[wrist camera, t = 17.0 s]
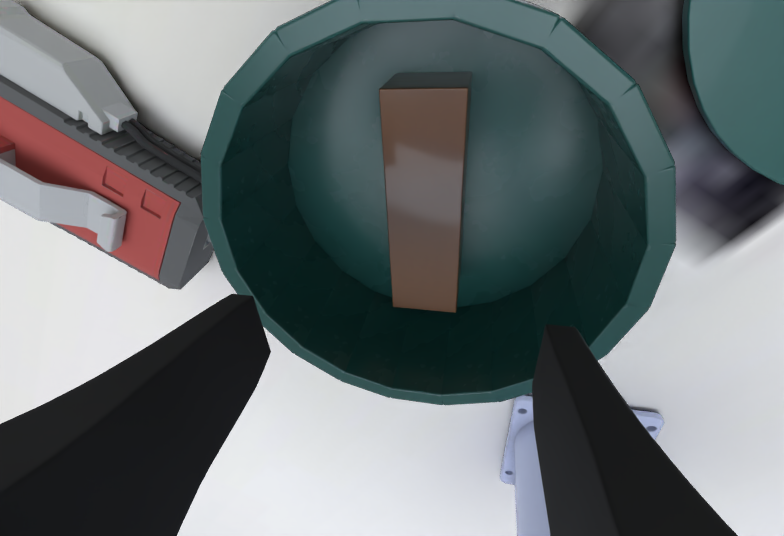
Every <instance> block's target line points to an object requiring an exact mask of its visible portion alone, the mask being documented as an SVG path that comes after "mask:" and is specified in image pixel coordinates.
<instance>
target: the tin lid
mask: <svg viewBox="0 0 784 536" xmlns="http://www.w3.org/2000/svg"><path fill="white" fill-rule="evenodd" d="M682 27H683V54H684V60H685V66H686V72H687V78H688V82H689V85H690V88H691V91H692V93H693V96H694V99H695V102H696V105H697V108H698V109H699V111H700V113H701V115H702V116H703V118H704V120H705V122H706V123H707V125H708V127H709V128H710V130H711V132H712V133H713V134H714V135H715V136H716V137H717V138H718V140H719V141H720V142H721V143H722V144H723V145H724V147H725V148H726V149H727V150H728V151H729V152H731V153H732V154H733V155H734V156H736V157H737V158H738V159H739V160H741V161H742V162H743V163H744V164H746V165H747V166H748V167H750V168H751V169H753V170H754V171H756V172H758V173H760V174H761V175H763V176H765V177H767V178H769V179H771V180H773V181H774V182H776V183H778V184H781V185H784V0H684V5H683V13H682Z"/></svg>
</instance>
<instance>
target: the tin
mask: <svg viewBox="0 0 784 536" xmlns="http://www.w3.org/2000/svg"><path fill="white" fill-rule="evenodd" d="M434 72H472V84H471V102H470V119H469V136H468V153H467V171H466V188H465V205H464V222H463V240H462V257H461V274H460V284H459V293H458V302H457V311H456V313H453V312H443V311H432V310H422V309H411V308H400V307H393V302H392V286H391V271H390V255H389V240H388V224H387V209H386V193H385V178H384V163H383V147H382V132H381V116H380V101H379V89H380V88H381V87H382V86H383V85H384V84H385V83H386V82H387V81H388V80H389V79H391V78H392V77H393V76H394V75H395V74H396V73H434ZM674 165H675V162H674V160H673V157H672V155H671V153H670V151H669V149H668V147H667V144H666V142H665V140H664V138H663V136H662V134H661V132H660V129H659V127H658V125H657V123H656V121H655V119H654V116H653V114H652V112H651V110H650V108H649V106H648V103H647V101H646V99H645V97H644V95H643V93H642V91H641V88H640V86H639V85H638V84H637V83H636V82H635V80H634V79H633V78H632V77H631V76H630V75H629V74H627V73H626V72H625V71H624V70H623V69H622V68H621V67H620V66H618V65H617V64H616V63H615V62H614V61H613V60H612V59H610V58H609V57H608V56H607V55H606V54H605V53H604V52H602V51H601V50H600V49H599V48H598V47H597V46H596V45H594V44H593V43H592V42H591V41H590V40H589V39H588V38H586V37H585V36H584V35H583V34H582V33H581V32H580V31H579V30H577V29H576V28H575V27H574V26H573V25H572V24H571V23H569V22H568V21H567V20H566V19H565V18H563V17H561V16H559V15H558V14H556V13H554V12H552V11H550V10H547V9H545V8H543V7H541V6H538V5H536V4H533V3H530V2H527V1H524V0H331V1H329V2H327V3H325V4H323V5H321V6H319V7H317V8H315V9H313V10H311V11H308V12H306V13H304V14H302V15H300V16H298V17H296V18H294V19H292V20H290V21H288V22H286V23H284V24H282V25H280V26H278V27H277V28H276V29H275V30H273V31H272V32H271V33H270V34H269V35H268V36H267V37H266V39H265V40H264V41H263V42H262V43H261V44H260V46H259V47H258V48H257V49H256V50H255V51H254V53H253V54H252V55H251V56H250V57H249V58H248V60H247V61H246V62H245V63H244V64H243V65H242V66H241V68H240V69H239V70H238V71H237V72H236V73H235V75H234V76H233V77H232V78H231V79H230V80H229V82H228V83H227V84H226V85H225V86H224V89H223V90H222V91H221V93H220V96H219V99H218V102H217V105H216V109H215V112H214V115H213V118H212V121H211V124H210V127H209V130H208V133H207V136H206V139H205V142H204V145H203V148H202V151H201V183H202V210H203V220H204V223H205V226H206V229H207V232H208V234H209V237H210V240H211V243H212V246H213V248H214V251H215V254H216V257H217V259H218V262H219V265H220V268H221V271H222V272H223V274H224V275H225V277H226V278H227V280H228V281H229V283H230V284H231V286H232V287H233V288H234V290H235V291H236V293H237V294H238V295H248V296H253V297H254V300H255V303H256V307H257V310H258V313H259V316H260V319H261V322H262V326H263V327H265V328H266V329H267V330H268V331H269V332H270V333H271V334H272V335H273V336H274V337H276V338H277V339H278V340H279V341H280V342H281V343H282V344H283V345H284V346H286V347H287V348H288V349H289V350H290V351H291V352H292V353H295V355H297V356H299V357H300V358H302V359H304V360H306V361H307V362H309V363H311V364H312V365H314V366H316V367H318V368H319V369H321V370H323V371H324V372H326V373H328V374H330V375H331V376H333V377H335V378H336V379H338V380H341V381H342V382H345V383H348V384H351V385H354V386H357V387H360V388H362V389H365V390H368V391H371V392H374V393H377V394H380V395H383V396H386V397H389V398H390V397H391V398H395V399H402V400H409V401H416V402H424V403H431V404H438V405H443V404H444V405H456V404H473V403H489V402H501V401H505V400H508V399H512V398H515V397H519V396H522V395H526V394H529V393H532V382H533V378H534V374H535V369H536V365H537V360H538V356H539V352H540V347H541V343H542V338H543V334H544V330H545V325H546V324H549V325H560V326H570V327H575V328H576V329H577V330H578V331H579V333H580V334H581V336H582V337H583V339H584V341H585V342H586V344H587V345H588V347H589V349H590V350H591V352H592V353H593V355H594V356H595V358H596V359H597V361H598V360H599V359H601V358H603V357H605V355H607V354H608V353H609V352H610V351H611V350H612V349H613V348H614V347H615V345H616V344H617V343H618V342H619V341H620V340H621V339H622V338H623V337H624V336H625V335H626V334H627V332H628V331H629V330H630V329H631V328H632V327H633V326H634V325H635V324H636V323H637V322H638V320H639V319H640V318H641V317H642V316H643V315H644V314H645V313H646V312H647V311H648V310H649V308H650V306H651V304H652V301H653V299H654V297H655V294H656V292H657V289H658V287H659V285H660V282H661V280H662V277H663V275H664V273H665V270H666V268H667V265H668V263H669V261H670V258H671V256H672V253H673V251H674V248H675V246H676V243H675V242H676V168H675V166H674Z"/></svg>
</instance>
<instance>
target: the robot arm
mask: <svg viewBox="0 0 784 536" xmlns="http://www.w3.org/2000/svg"><path fill="white" fill-rule="evenodd" d="M270 353H271V351H270V348H269V344H268V341H267V338H266V335H265V332H264V329H263V326H262V322H261V319H260V316H259V313H258V310H257V307H256V303H255V300H254V297H253V296H248V295H238V294H231V295H229V296H227V297H226V298H224V299H222V300H220V301H219V302H217V303H216V304H214V305H212V306H211V307H209V308H208V309H206V310H204V311H203V312H201V313H200V314H198V315H197V316H195V317H193V318H192V319H190V320H189V321H187V322H186V323H184V324H183V325H181V326H179V327H178V328H176V329H175V330H173V331H172V332H170V333H168V334H167V335H165V336H164V337H162V338H161V339H159V340H157V341H156V342H154V343H153V344H151V345H149V346H148V347H146V348H144V349H143V350H141V351H139V352H138V353H136V354H134V355H133V356H131V357H129V358H128V359H126V360H124V361H123V362H121V363H119V364H117V365H116V366H114V367H112V368H111V369H109V370H107V371H106V372H104V373H102V374H100V375H99V376H97V377H95V378H93V379H91V380H90V381H88V382H86V383H84V384H82V385H80V386H78V387H77V388H75V389H73V390H71V391H69V392H67V393H65V394H63V395H61V396H59V397H57V398H55V399H53V400H51V401H49V402H47V403H45V404H43V405H41V406H39V407H37V408H35V409H32V410H30V411H28V412H26V413H24V414H21V415H19V416H17V417H15V418H13V419H10V420H8V421H6V422H4V423H2V424H0V536H177V534H178V532H179V529H180V527H181V525H182V523H183V520H184V518H185V516H186V514H187V512H188V510H189V508H190V505H191V503H192V501H193V499H194V497H195V495H196V493H197V490H198V488H199V486H200V484H201V482H202V480H203V479H204V477H205V475H206V473H207V471H208V469H209V467H210V466H211V464H212V462H213V460H214V459H215V457H216V455H217V454H218V452H219V450H220V449H221V447H222V445H223V443H224V442H225V440H226V438H227V437H228V435H229V433H230V431H231V430H232V428H233V426H234V425H235V423H236V421H237V420H238V418H239V416H240V414H241V413H242V411H243V409H244V407H245V406H246V404H247V402H248V401H249V399H250V397H251V395H252V393H253V392H254V390H255V388H256V386H257V384H258V382H259V379H260V377H261V375H262V373H263V370H264V368H265V365H266V363H267V360H268V358H269V355H270ZM663 424H664V420H663V418H662V416H661V415H660V414H658V413H654V412H647V411H639V410H631V408H630V407H629V406H628V404H627V403H626V401H625V400H624V399H623V397H622V396H621V395H620V393H619V392H618V390H617V389H616V388H615V386H614V385H613V383H612V382H611V380H610V379H609V377H608V376H607V374H606V373H605V371H604V370H603V369H602V367H601V366H600V364H599V363H598V361H597V359H596V358H595V356H594V355H593V353H592V352H591V350H590V349H589V347H588V345H587V344H586V342H585V341H584V339H583V337H582V336H581V334H580V333H579V331H578V330H577V329H576V328H575V327H570V326H560V325H549V324H546V325H545V330H544V334H543V338H542V343H541V347H540V352H539V356H538V360H537V365H536V369H535V374H534V378H533V382H532V397H531V396H519V397H516V398H515V401H514V406H513V411H512V416H511V421H510V426H509V431H508V437H507V442H506V447H505V452H504V457H503V462H502V467H501V472H500V480H501V481H502V482H504V483H507V484H513V485H515V500H516V523H517V536H738V535H737V534H736V533H735V532H734V531H733V530H732V529H731V528H730V527H729V526H728V525H727V524H726V523H725V522H724V521H723V520H722V518H721V517H720V516H719V515H718V514H717V513H716V512H715V511H714V510H713V508H712V507H711V506H710V505H709V504H708V503H707V502H706V501H705V500H704V498H703V497H702V496H701V495H700V494H699V493H698V492H697V491H696V489H695V488H694V487H693V486H692V485H691V484H690V482H689V481H688V480H687V479H686V478H685V477H684V475H683V474H682V473H681V472H680V471H679V470H678V468H677V467H676V466H675V465H674V464H673V462H672V461H671V460H670V459H669V457H668V456H667V455H666V454H665V452H664V451H663V450H662V449H661V447H660V446H659V445H658V444H657V443H656V441H655V439H656V437H657V435H658V433H659V432H660V430H661V428H662V426H663Z"/></svg>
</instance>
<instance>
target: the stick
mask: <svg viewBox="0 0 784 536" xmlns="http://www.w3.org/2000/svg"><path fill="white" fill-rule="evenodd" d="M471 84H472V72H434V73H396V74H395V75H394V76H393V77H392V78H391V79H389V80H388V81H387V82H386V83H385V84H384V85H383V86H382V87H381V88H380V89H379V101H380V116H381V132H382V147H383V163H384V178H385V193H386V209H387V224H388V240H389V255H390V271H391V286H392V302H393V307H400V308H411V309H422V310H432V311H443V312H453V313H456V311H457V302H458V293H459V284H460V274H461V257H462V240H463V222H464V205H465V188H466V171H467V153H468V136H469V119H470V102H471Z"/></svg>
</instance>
